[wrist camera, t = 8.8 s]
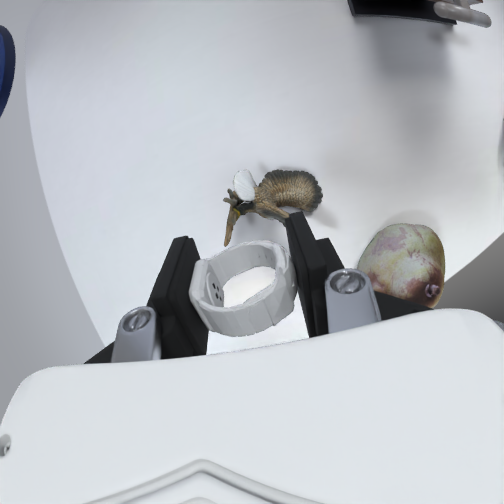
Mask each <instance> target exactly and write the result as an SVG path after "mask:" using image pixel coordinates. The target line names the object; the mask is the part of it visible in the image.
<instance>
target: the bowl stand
mask: <svg viewBox="0 0 504 504" xmlns="http://www.w3.org/2000/svg"><path fill="white" fill-rule="evenodd" d="M348 3H349V6H350V9H351V12H352V15H353V16H377V17H395V18H407V19H416V20H424V21H431V22H438V23H444V24H449V25H457V22H456V20H453V19H448V18H443V17H440V16H438V15H437V14H436V13H435V11H434V4H435V3H436V2H434V1H428V0H348Z"/></svg>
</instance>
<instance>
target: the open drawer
mask: <svg viewBox="0 0 504 504" xmlns="http://www.w3.org/2000/svg"><path fill="white" fill-rule="evenodd" d="M428 1H434V2H436V3H435V4H434V11H435V13H436V14H437V15H438V16H440V17H443V18H448V19H453V20H457V21H462V22H466V23H470V24H474V25H478V26H482V27H485V28H488V27H490V26H491V19H490V17H489V16H488V15H487V14H485V13H482V12H479V11H476V10H472V9H470V7H469V5H473V4H478V3H483V1H482V0H428Z"/></svg>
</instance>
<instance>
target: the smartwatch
mask: <svg viewBox="0 0 504 504" xmlns="http://www.w3.org/2000/svg"><path fill="white" fill-rule="evenodd" d="M260 266H265V267H271V268H273V269H275V270H276V272H275V280H274V282H273V283H272V284H271V285H269V286H268V287H266V288H265V289H263V290H261V291H260V292H258V293H257V294H255V295H254V296H252V297H251V298H249V299H248V300H246V301H245V302H244V303H243V304H240V305H236V306H233V307H230V308H226V307H224V291H223V289H222V288H223V286H224V285H225V284H226V282H227V281H229V280H230V279H231V278H232V277H234V276H236V275H238V274H240V273H243V272H245V271H247V270H250V269H252V268H254V267H260ZM297 285H298V284H297V277H296V270H295V267H294V263H293V261H292V260H291V258H290V256H289V255H288V253H287V251H286V250H285V248H284V247H282V246H281V245H280V244H278V243H275V242H272V241H268V240H260V241H250V242H246V243H243V244H239V245H235V246H233V247H230V248H228V249H226V250H224V251H222V252H220V253H218V254H216V255H214V256H213V257H211V258H209V259H200V260H199V261H197V262H196V263H195V267H194V271H193V275H192V280H191V284H190V288H189V296H190V297H189V299H190V300H191V302H192V304H193V306H194V308H195V309H196V311H197V313H198V314H199V316H200V318H201V319H202V321H203V322H204V324H205V326H206V327H207V329H208V330H210V331H212V332H217V333H220V334H222V335H227V336H231V337H236V336H238V337H242V336H246V335H247V336H249V335H253V334H255V333H259V332H261V331H264V330H266V329H267V328H269V327H271V326H272V325H273V326H275V325H276V324H277V323H279V322H280V321H281V320H282V319H284V318H285V317H287V316H288V315H289V314H290V313H291V312H293V309H294V302H293V301H294V300H295V297H296V294H297Z"/></svg>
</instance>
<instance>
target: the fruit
mask: <svg viewBox="0 0 504 504" xmlns="http://www.w3.org/2000/svg"><path fill="white" fill-rule="evenodd" d="M357 270H360V271H363V272H364V273H366V274H367V275H368V277H369V278H370V281H371V284H372V287H373V290H375V291H378V292H381V293H385V294H388V295H391V296H394V297H398V298H401V299H404V300H407V301H411V302H414V303H417V304H421V305H424V306H427V307H430V308H433V307H434V306H435V305H436V304H437V303H438V301H439V299H440V297H441V294H442V291H443V288H444V275H445V256H444V250H443V246H442V243H441V241H440V239H439V237H438V236H437V235H436V233H435V232H434V231H433V230H432V229H430V228H429V227H426V226H423V225H414V224H394V225H390V226H388V227H386V228H384V229H383V230H381V231H380V232H378V233H377V234H376V236H375V237H374V239H373V240H372V242H371V243H370V244H369V245H368V247H367V248H366V249H365V251H364V253H363V255H362V257H361V259H360V261H359V263H358V267H357Z"/></svg>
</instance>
